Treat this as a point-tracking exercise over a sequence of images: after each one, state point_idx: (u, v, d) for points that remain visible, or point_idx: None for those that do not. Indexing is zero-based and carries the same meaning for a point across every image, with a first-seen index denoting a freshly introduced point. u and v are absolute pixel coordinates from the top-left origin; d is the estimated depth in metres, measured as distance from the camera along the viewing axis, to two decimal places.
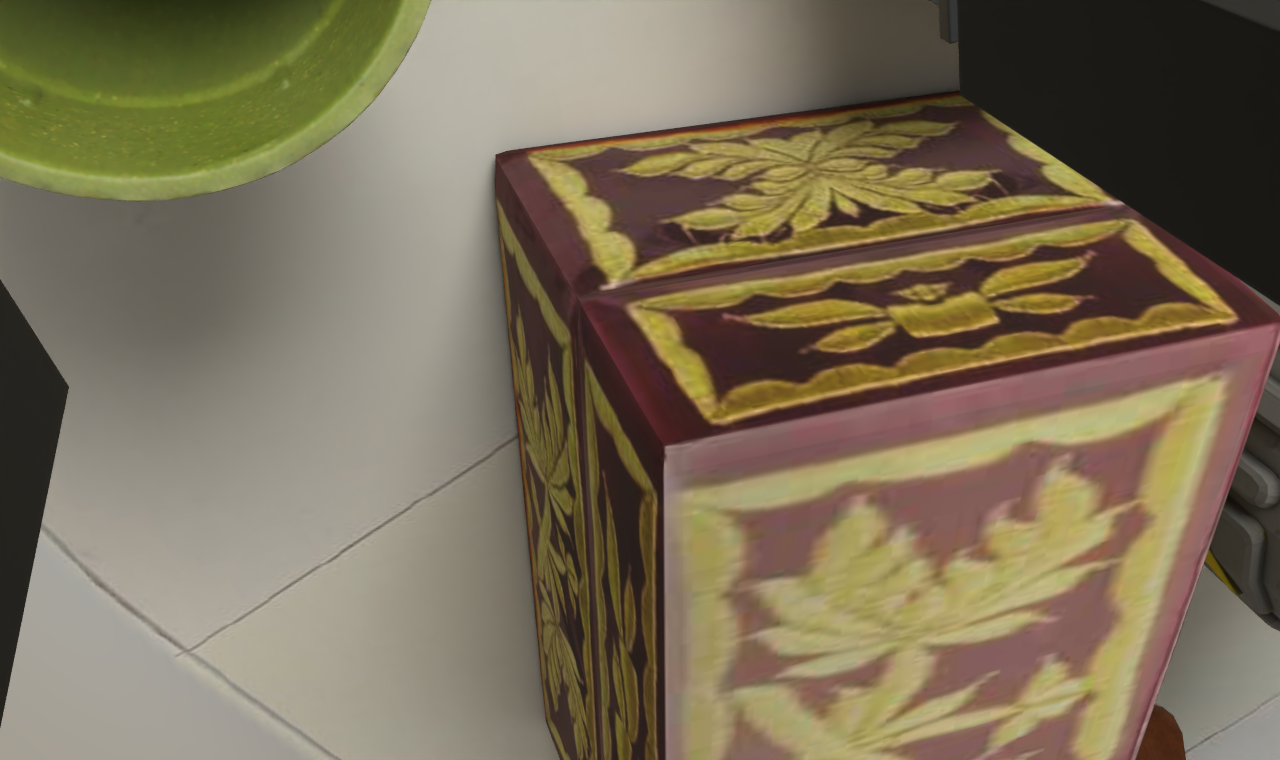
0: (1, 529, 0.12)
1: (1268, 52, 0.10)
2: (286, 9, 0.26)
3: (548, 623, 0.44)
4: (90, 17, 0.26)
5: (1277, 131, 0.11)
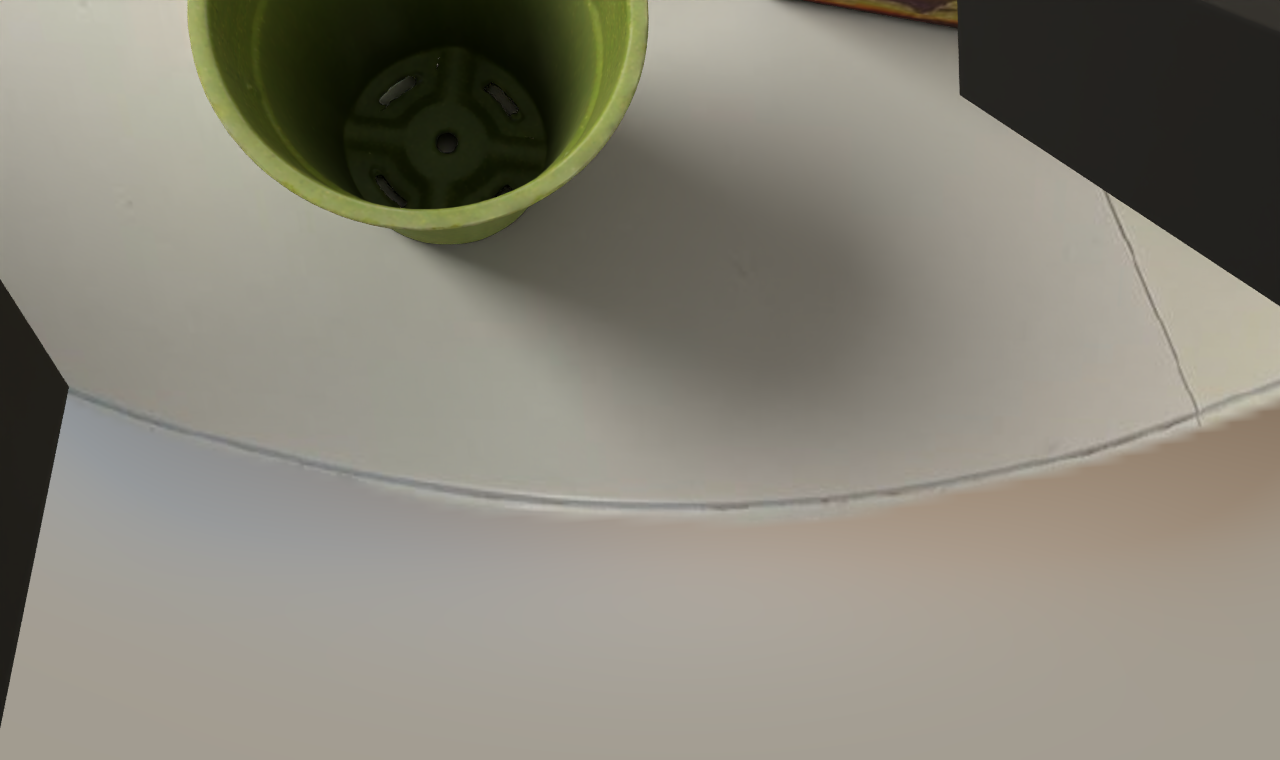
0: (1, 529, 0.12)
1: (1268, 52, 0.10)
2: (566, 15, 0.35)
3: None
4: None
5: (1277, 131, 0.11)
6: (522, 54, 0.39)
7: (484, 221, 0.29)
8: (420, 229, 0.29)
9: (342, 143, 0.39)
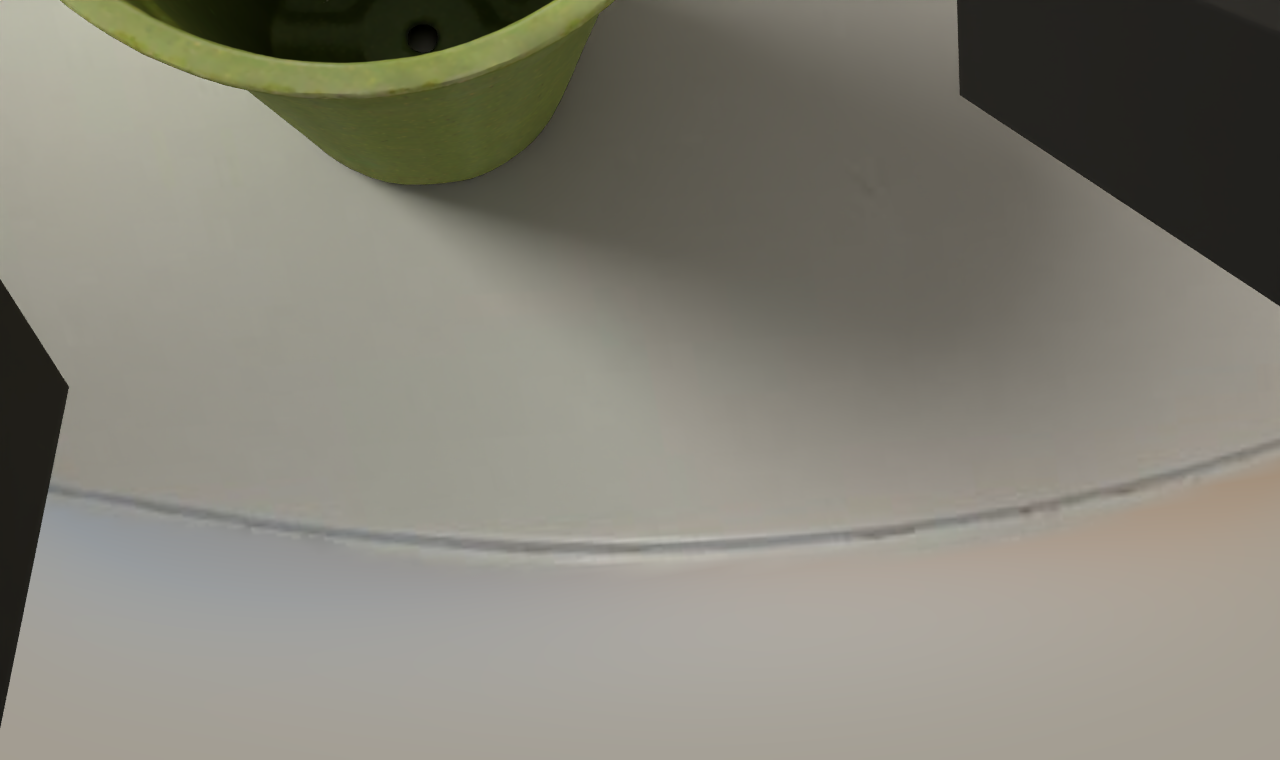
0: (1, 529, 0.12)
1: (1269, 52, 0.10)
2: None
3: None
4: None
5: (1277, 131, 0.11)
6: None
7: (480, 72, 0.16)
8: (368, 95, 0.16)
9: (270, 50, 0.27)
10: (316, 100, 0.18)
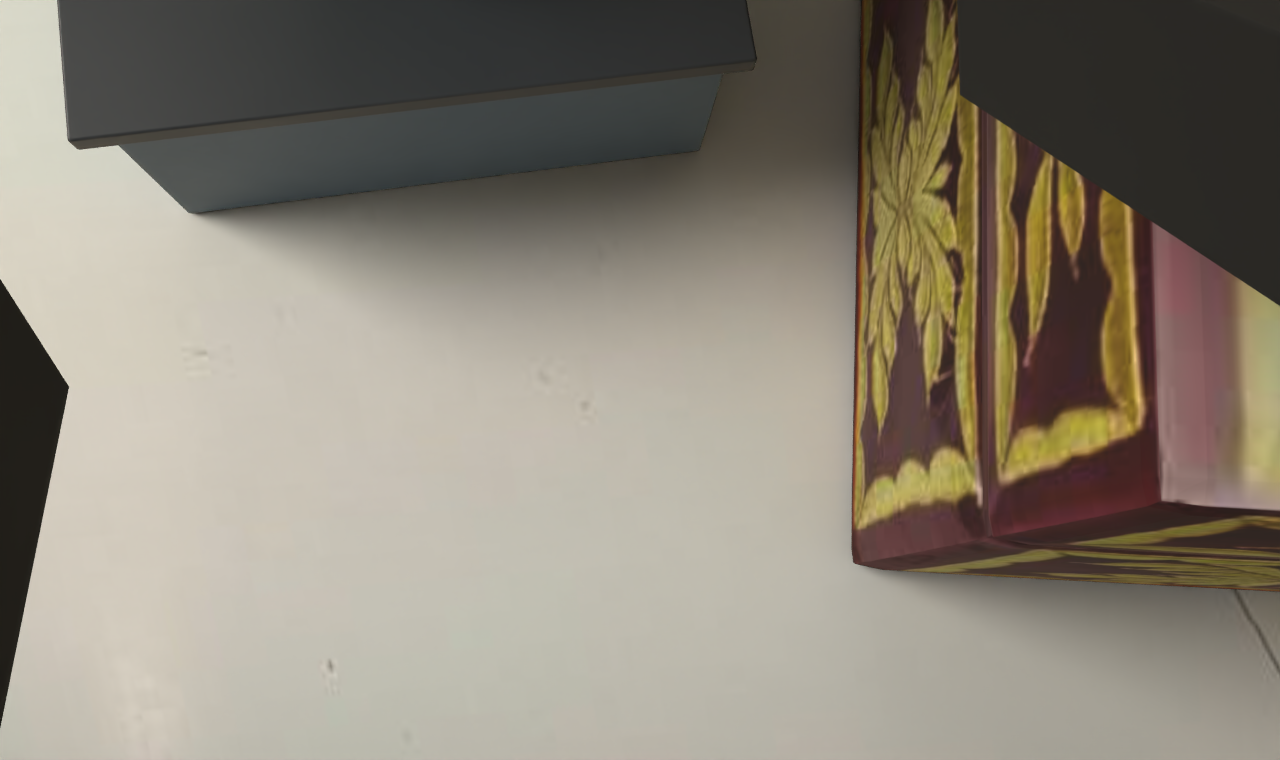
0: (1, 529, 0.12)
1: (1268, 51, 0.10)
2: None
3: None
4: None
5: (1277, 131, 0.11)
6: None
7: None
8: None
9: None
10: None
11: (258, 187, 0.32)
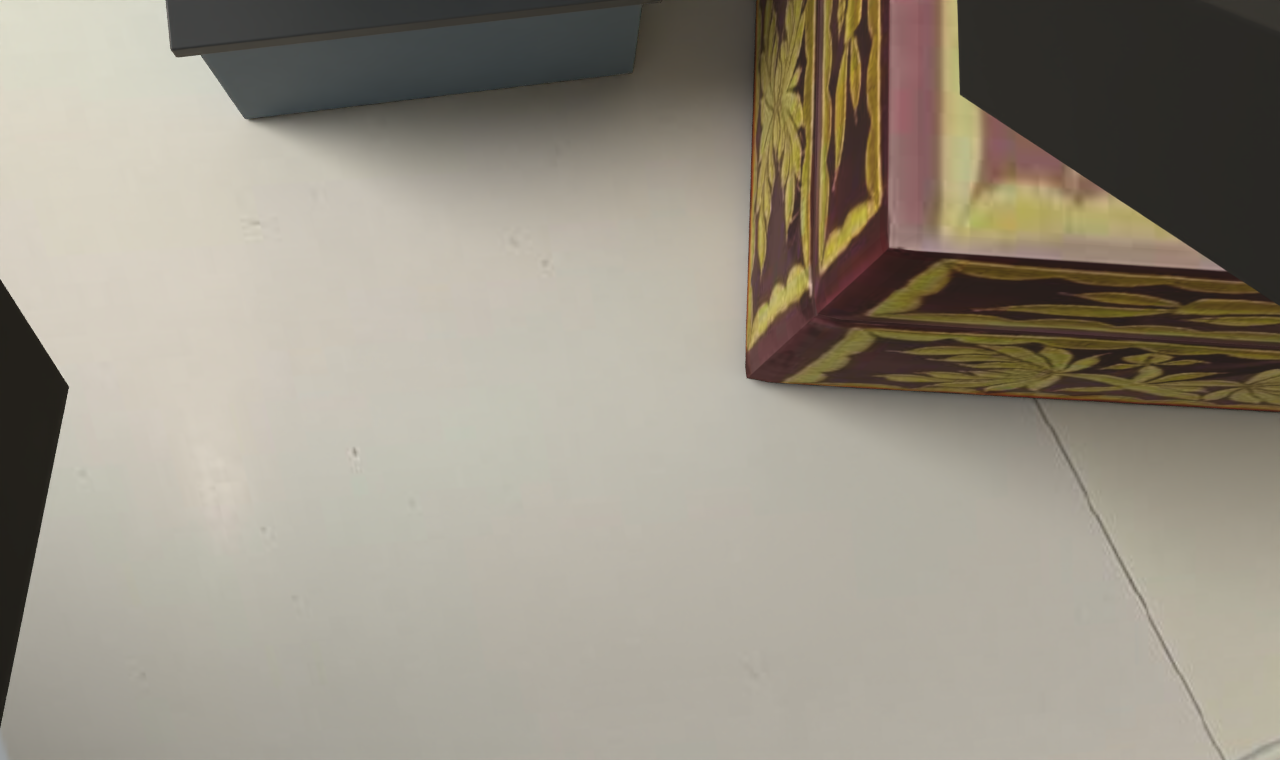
0: (1, 529, 0.12)
1: (1268, 52, 0.10)
2: None
3: (1257, 396, 0.41)
4: None
5: (1277, 131, 0.11)
6: None
7: None
8: None
9: None
10: None
11: (298, 97, 0.42)
